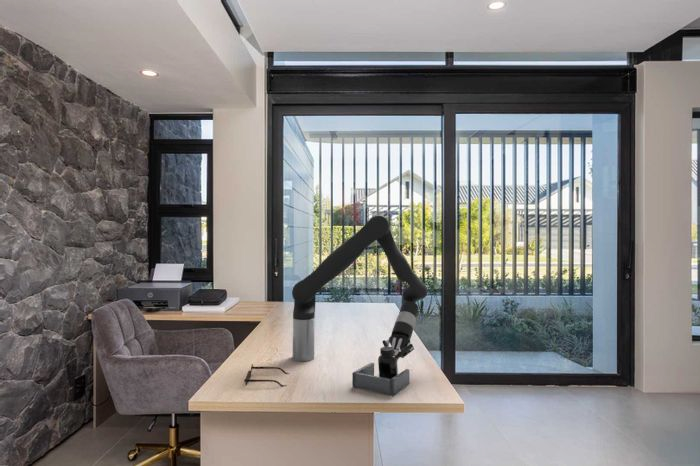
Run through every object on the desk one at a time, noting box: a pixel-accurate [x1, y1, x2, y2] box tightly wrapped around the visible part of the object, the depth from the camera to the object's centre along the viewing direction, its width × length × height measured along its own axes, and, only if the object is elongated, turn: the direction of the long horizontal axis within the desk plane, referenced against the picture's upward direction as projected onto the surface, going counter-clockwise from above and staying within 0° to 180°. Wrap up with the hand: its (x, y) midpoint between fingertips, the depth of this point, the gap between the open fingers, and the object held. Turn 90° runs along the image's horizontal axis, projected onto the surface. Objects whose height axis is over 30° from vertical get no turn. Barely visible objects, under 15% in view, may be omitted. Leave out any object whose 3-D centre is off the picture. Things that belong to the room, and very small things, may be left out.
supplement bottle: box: [377, 346, 399, 379], centre depth 153 cm, size 7×7×12 cm
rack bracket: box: [351, 362, 410, 397], centre depth 150 cm, size 14×15×5 cm
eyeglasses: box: [243, 364, 290, 388], centre depth 154 cm, size 15×15×5 cm
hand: (391, 365), depth 156 cm, fingers closed
